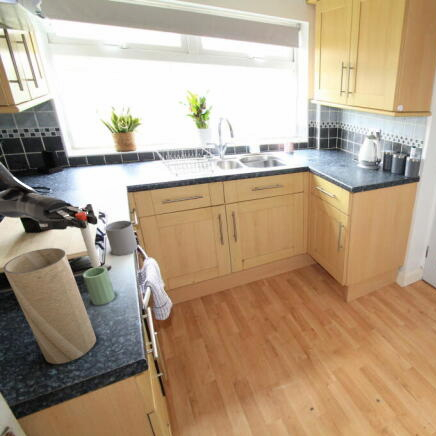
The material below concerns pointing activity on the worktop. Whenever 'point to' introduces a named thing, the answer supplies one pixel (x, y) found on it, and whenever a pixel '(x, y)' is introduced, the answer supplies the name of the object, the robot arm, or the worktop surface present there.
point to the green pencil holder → (99, 285)
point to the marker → (89, 241)
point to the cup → (121, 237)
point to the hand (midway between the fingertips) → (89, 222)
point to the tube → (51, 303)
